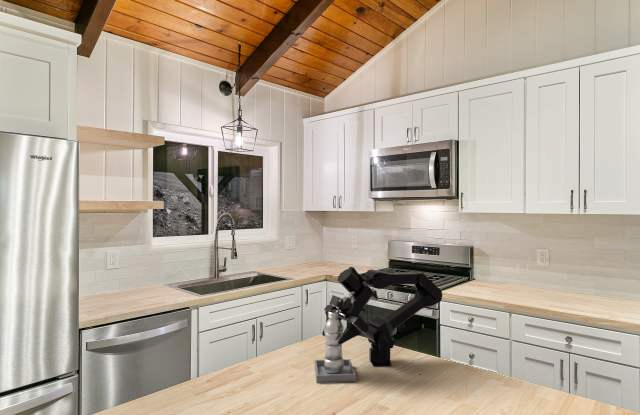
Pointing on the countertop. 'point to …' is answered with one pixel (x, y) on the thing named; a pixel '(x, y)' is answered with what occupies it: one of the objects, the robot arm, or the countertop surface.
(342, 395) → the countertop surface
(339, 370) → the plastic bottle
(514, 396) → the countertop surface
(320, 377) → the gray tray
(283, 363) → the countertop surface
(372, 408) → the countertop surface
